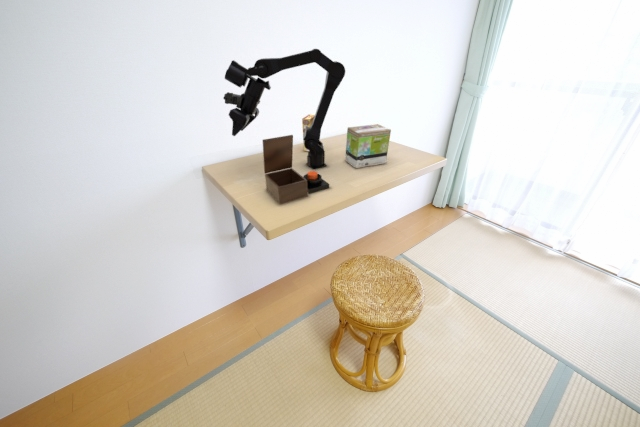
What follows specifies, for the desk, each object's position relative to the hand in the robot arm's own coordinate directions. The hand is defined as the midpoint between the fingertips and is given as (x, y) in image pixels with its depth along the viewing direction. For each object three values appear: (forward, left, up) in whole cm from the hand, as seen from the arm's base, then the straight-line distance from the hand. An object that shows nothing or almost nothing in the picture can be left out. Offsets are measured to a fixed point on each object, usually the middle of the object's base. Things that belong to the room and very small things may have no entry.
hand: (237, 132), depth 101 cm
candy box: (-35, -6, -15) cm, 39 cm away
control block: (-17, +29, -14) cm, 37 cm away
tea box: (-47, +22, -15) cm, 54 cm away
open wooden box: (-6, +30, -14) cm, 34 cm away
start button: (-17, +29, -11) cm, 36 cm away
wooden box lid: (-6, +26, -2) cm, 26 cm away
